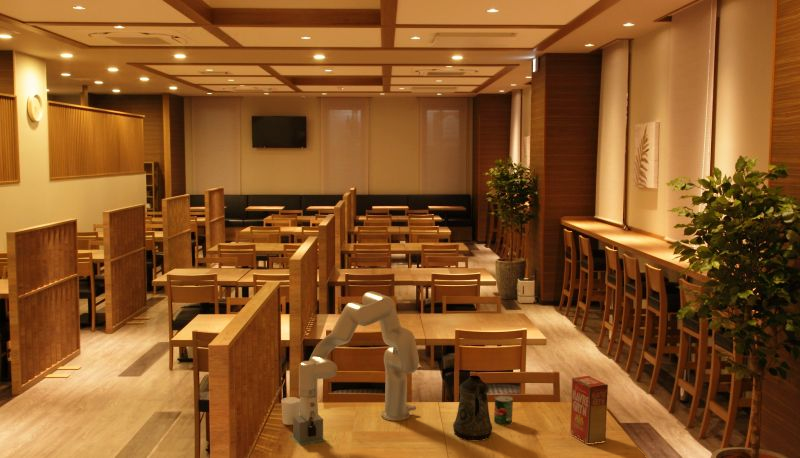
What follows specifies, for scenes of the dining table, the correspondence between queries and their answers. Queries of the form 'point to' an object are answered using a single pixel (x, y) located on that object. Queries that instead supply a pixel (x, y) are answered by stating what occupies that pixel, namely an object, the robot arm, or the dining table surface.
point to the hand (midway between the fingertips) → (307, 431)
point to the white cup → (290, 409)
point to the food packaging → (589, 409)
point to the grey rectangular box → (306, 429)
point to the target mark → (307, 442)
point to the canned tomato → (503, 410)
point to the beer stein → (473, 411)
